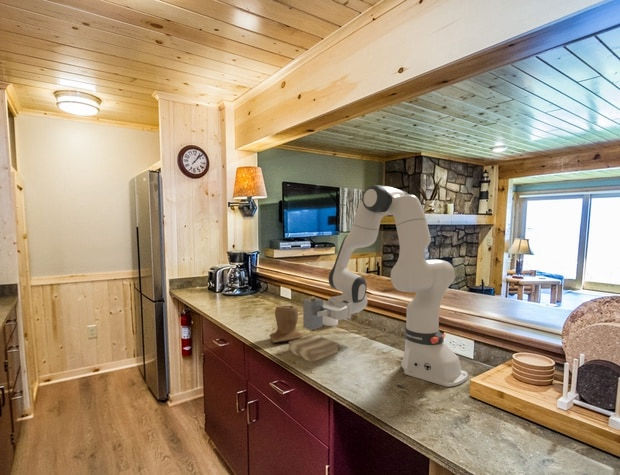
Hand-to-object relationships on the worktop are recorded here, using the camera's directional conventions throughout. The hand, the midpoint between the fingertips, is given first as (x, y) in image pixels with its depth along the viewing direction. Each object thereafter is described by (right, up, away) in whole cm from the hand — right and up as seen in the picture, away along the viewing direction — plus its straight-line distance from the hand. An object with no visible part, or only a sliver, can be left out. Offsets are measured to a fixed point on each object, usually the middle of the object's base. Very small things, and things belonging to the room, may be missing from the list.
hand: (311, 312), depth 139 cm
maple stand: (+1, -16, +1) cm, 16 cm away
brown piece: (-12, -16, +17) cm, 26 cm away
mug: (+8, -15, +38) cm, 42 cm away
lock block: (+1, -6, +1) cm, 6 cm away
